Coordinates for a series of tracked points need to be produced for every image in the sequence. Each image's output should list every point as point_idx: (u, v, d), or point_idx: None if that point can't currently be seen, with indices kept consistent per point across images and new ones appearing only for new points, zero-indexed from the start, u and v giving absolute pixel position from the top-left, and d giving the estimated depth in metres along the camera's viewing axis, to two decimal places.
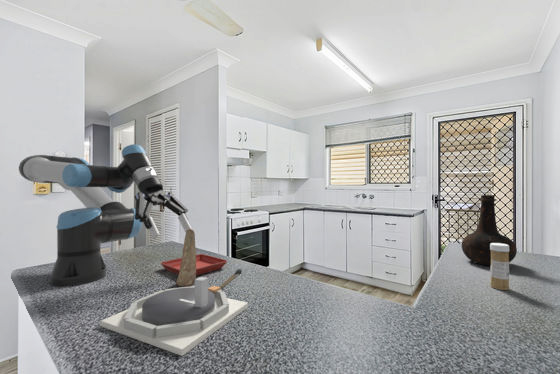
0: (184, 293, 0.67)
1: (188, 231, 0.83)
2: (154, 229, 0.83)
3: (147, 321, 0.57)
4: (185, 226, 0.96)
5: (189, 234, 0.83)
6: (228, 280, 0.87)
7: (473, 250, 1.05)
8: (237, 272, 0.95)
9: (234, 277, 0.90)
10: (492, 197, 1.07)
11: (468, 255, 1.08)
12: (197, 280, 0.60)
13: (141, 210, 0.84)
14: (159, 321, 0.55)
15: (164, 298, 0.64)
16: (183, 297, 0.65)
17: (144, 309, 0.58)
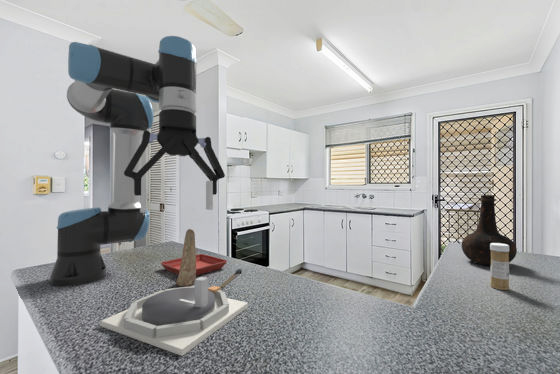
0: (184, 293, 0.67)
1: (188, 231, 0.83)
2: (141, 202, 0.53)
3: (147, 321, 0.57)
4: (207, 201, 0.61)
5: (189, 234, 0.83)
6: (228, 280, 0.87)
7: (473, 250, 1.05)
8: (237, 272, 0.95)
9: (234, 277, 0.90)
10: (492, 197, 1.07)
11: (468, 255, 1.08)
12: (197, 280, 0.60)
13: (132, 166, 0.52)
14: (159, 321, 0.55)
15: (164, 298, 0.64)
16: (183, 297, 0.65)
17: (144, 309, 0.58)
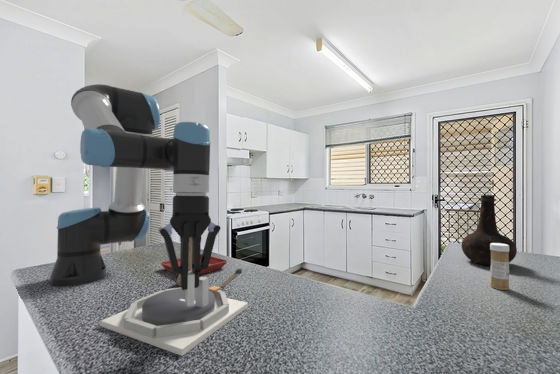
0: (184, 293, 0.67)
1: None
2: (187, 296, 0.57)
3: (148, 321, 0.56)
4: None
5: None
6: (228, 279, 0.87)
7: (473, 250, 1.05)
8: (237, 272, 0.95)
9: (234, 276, 0.91)
10: (492, 197, 1.07)
11: (468, 255, 1.08)
12: None
13: (175, 263, 0.55)
14: (160, 321, 0.55)
15: (164, 299, 0.64)
16: (183, 297, 0.65)
17: (144, 309, 0.58)
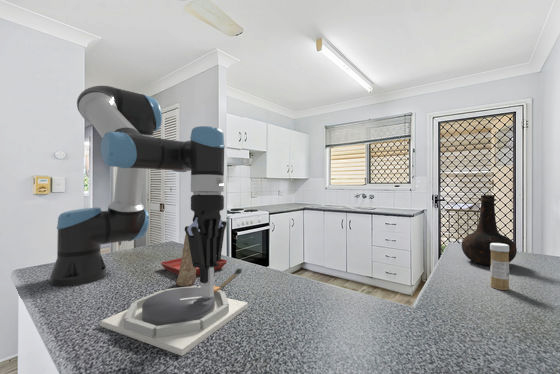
0: (173, 295, 0.66)
1: None
2: (208, 288, 0.61)
3: None
4: None
5: None
6: (228, 279, 0.88)
7: (473, 250, 1.05)
8: (237, 271, 0.96)
9: (234, 276, 0.91)
10: (492, 197, 1.07)
11: (468, 255, 1.08)
12: None
13: (202, 258, 0.59)
14: (189, 318, 0.57)
15: (161, 304, 0.61)
16: (178, 297, 0.65)
17: (161, 315, 0.56)
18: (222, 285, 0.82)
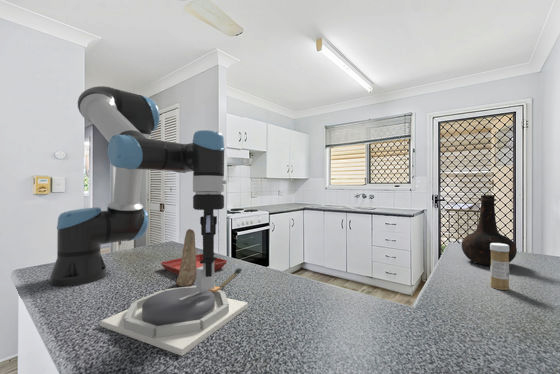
0: (165, 299, 0.64)
1: (188, 231, 0.83)
2: (212, 280, 0.66)
3: (198, 318, 0.58)
4: None
5: (189, 234, 0.83)
6: (228, 279, 0.88)
7: (473, 250, 1.05)
8: (237, 271, 0.96)
9: (234, 276, 0.91)
10: (492, 197, 1.07)
11: (468, 255, 1.08)
12: None
13: (213, 253, 0.64)
14: (209, 309, 0.61)
15: (168, 307, 0.59)
16: (174, 299, 0.64)
17: (187, 312, 0.57)
18: (222, 285, 0.82)
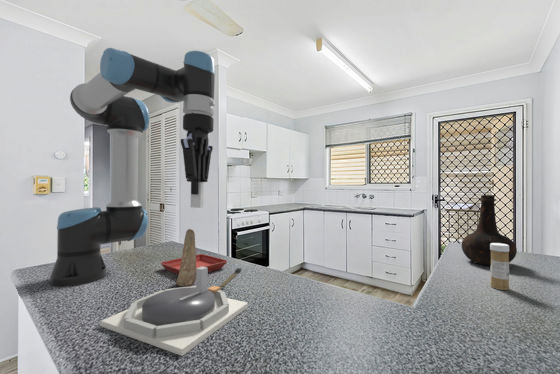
0: (165, 299, 0.64)
1: (188, 231, 0.83)
2: (199, 199, 0.68)
3: (198, 318, 0.58)
4: None
5: (189, 234, 0.83)
6: (228, 279, 0.88)
7: (473, 250, 1.05)
8: (237, 271, 0.96)
9: (234, 276, 0.91)
10: (492, 197, 1.07)
11: (468, 255, 1.08)
12: (203, 269, 0.68)
13: (195, 170, 0.65)
14: (209, 309, 0.61)
15: (168, 307, 0.59)
16: (174, 299, 0.64)
17: (187, 312, 0.57)
18: (222, 284, 0.83)
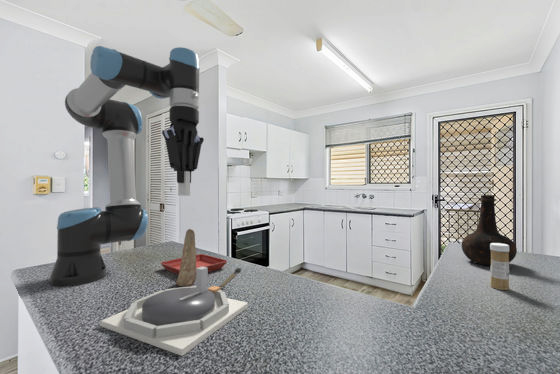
0: (165, 299, 0.64)
1: (188, 231, 0.83)
2: (184, 188, 0.71)
3: (198, 318, 0.58)
4: None
5: (189, 234, 0.83)
6: (228, 278, 0.88)
7: (473, 250, 1.05)
8: (236, 271, 0.96)
9: (234, 276, 0.92)
10: (492, 197, 1.07)
11: (468, 255, 1.08)
12: (203, 269, 0.68)
13: (178, 159, 0.69)
14: (209, 309, 0.61)
15: (168, 307, 0.59)
16: (174, 299, 0.64)
17: (187, 312, 0.57)
18: (222, 284, 0.83)
